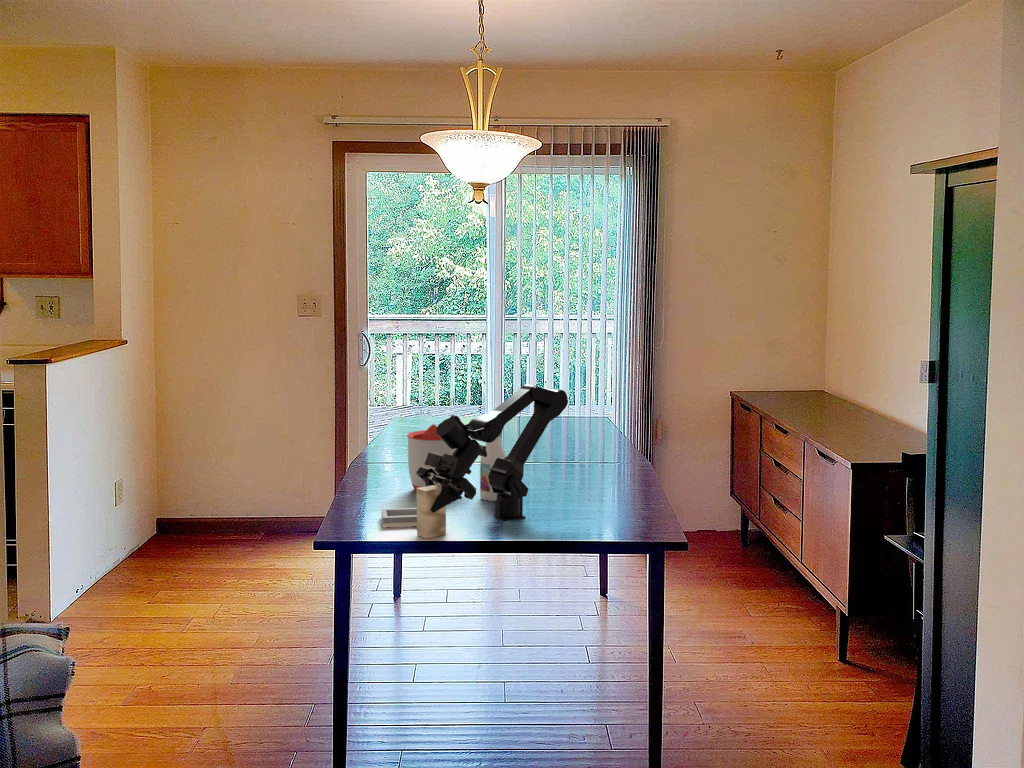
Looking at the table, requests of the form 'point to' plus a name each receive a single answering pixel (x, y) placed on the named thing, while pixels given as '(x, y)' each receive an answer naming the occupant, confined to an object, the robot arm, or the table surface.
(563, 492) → the table surface
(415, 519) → the track board
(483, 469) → the milk bottle
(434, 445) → the citrus juicer
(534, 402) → the robot arm
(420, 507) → the upright wooden block
